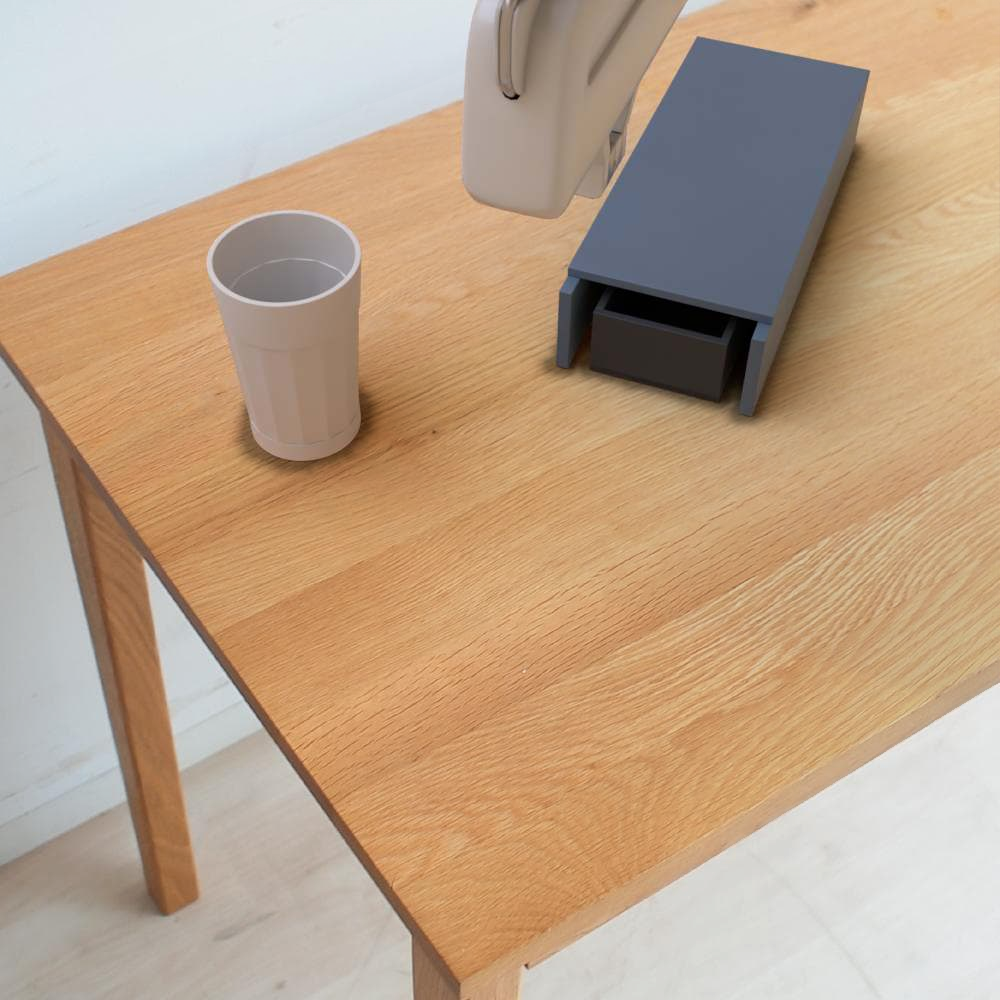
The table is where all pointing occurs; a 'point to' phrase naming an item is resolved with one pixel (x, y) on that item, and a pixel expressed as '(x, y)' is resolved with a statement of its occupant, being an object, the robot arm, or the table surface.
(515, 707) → the table surface
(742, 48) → the cubby shelf
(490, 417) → the table surface
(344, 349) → the cup
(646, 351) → the basket
